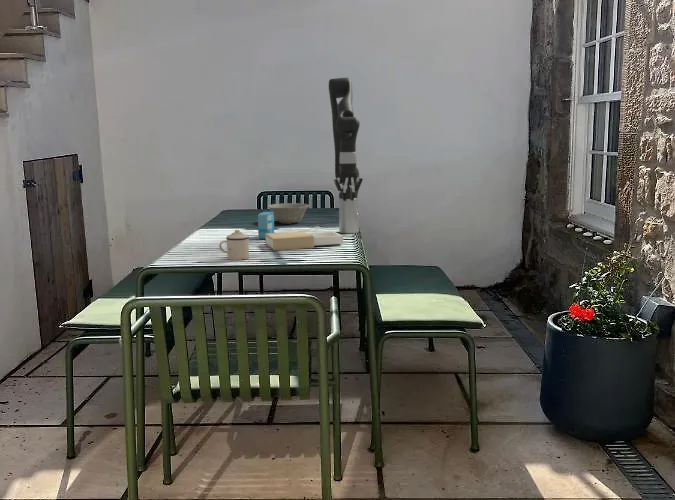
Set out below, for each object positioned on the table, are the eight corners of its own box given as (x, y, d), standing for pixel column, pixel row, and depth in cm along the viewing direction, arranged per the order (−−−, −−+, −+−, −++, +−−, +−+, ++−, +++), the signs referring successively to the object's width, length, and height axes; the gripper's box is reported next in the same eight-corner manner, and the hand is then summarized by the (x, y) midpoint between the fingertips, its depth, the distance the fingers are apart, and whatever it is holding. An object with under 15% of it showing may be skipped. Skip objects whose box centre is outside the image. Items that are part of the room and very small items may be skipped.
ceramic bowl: (260, 224, 365) (259, 206, 363) (284, 219, 384) (284, 202, 382) (292, 227, 353) (292, 208, 352) (316, 221, 373) (316, 204, 371)
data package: (267, 239, 312) (266, 214, 310) (258, 239, 313) (257, 214, 311) (274, 235, 324) (273, 211, 322) (265, 235, 325) (264, 211, 323)
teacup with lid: (251, 256, 271) (250, 228, 269) (247, 260, 262) (246, 231, 260) (222, 256, 271) (220, 228, 269) (217, 260, 262) (216, 231, 260)
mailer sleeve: (303, 242, 304) (303, 231, 303) (313, 247, 289) (313, 236, 288) (265, 244, 298) (265, 233, 297) (273, 250, 283) (273, 238, 283)
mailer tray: (333, 239, 307) (333, 231, 307) (343, 243, 294) (343, 235, 294) (266, 243, 297) (265, 235, 297) (273, 248, 284) (272, 240, 284)
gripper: (359, 161, 302) (359, 199, 305) (330, 162, 297) (331, 200, 301) (365, 162, 295) (365, 200, 298) (335, 163, 290) (336, 202, 294)
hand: (348, 200), depth 299 cm, fingers open, 3 cm apart
